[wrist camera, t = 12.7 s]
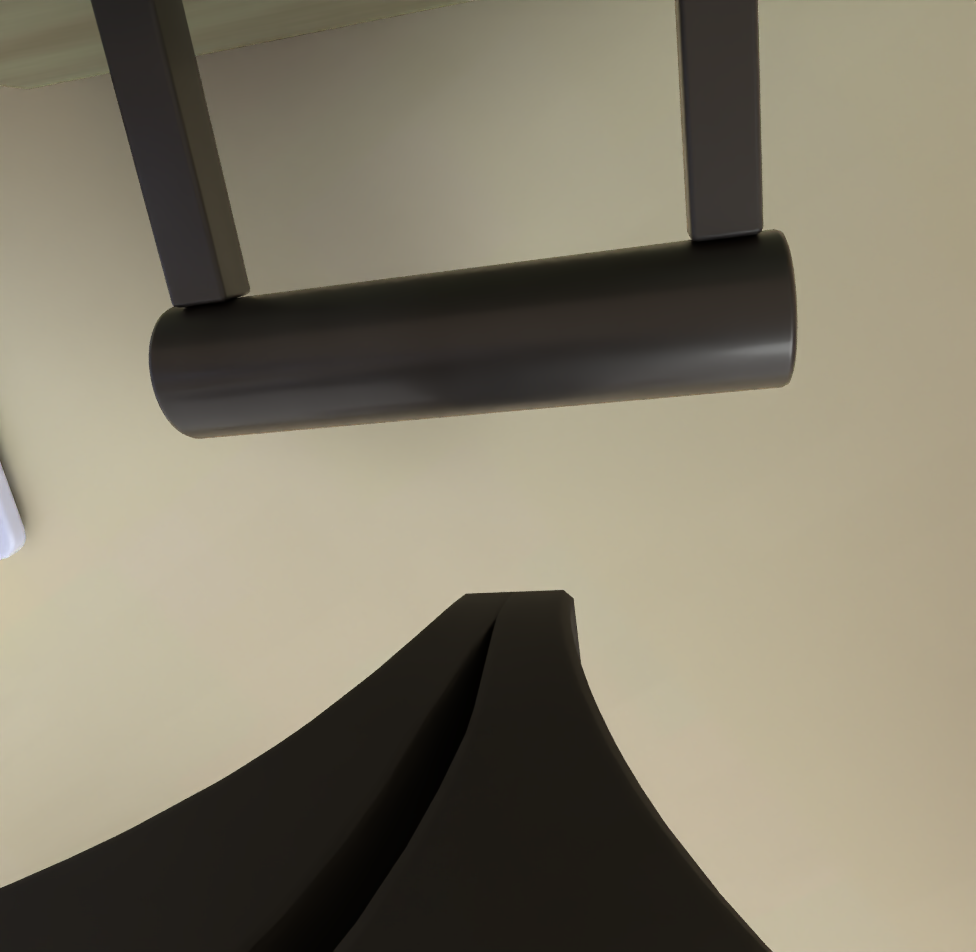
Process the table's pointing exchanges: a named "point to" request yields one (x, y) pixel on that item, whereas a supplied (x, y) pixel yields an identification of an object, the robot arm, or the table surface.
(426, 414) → the drawer
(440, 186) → the table surface
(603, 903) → the robot arm
